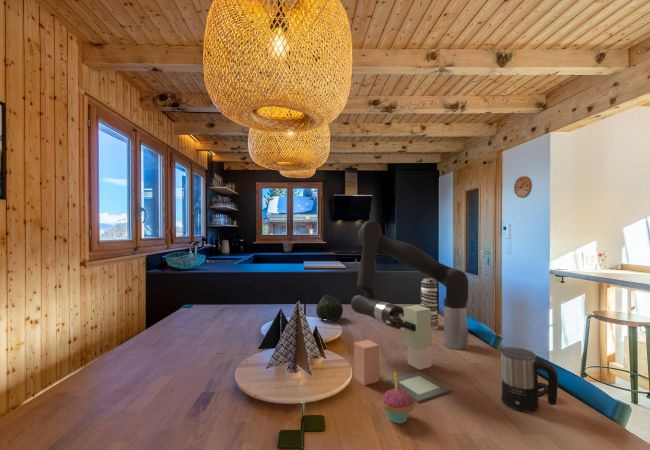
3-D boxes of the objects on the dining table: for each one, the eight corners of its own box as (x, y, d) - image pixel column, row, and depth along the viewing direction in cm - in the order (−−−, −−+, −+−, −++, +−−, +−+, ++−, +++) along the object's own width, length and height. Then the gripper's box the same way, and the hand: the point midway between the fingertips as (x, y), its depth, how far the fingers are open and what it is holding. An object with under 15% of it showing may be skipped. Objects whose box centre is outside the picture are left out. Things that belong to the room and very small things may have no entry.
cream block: (407, 363, 118) (407, 331, 118) (419, 360, 120) (419, 329, 121) (419, 369, 112) (418, 336, 112) (431, 366, 115) (431, 333, 115)
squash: (350, 311, 172) (339, 289, 181) (328, 317, 164) (317, 293, 172) (339, 324, 181) (329, 301, 189) (318, 330, 173) (308, 306, 181)
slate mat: (387, 382, 103) (387, 380, 103) (419, 373, 109) (419, 371, 110) (418, 402, 91) (418, 400, 91) (451, 391, 97) (451, 389, 97)
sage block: (403, 343, 102) (403, 306, 102) (417, 340, 105) (417, 304, 105) (417, 349, 96) (416, 311, 97) (431, 346, 99) (430, 308, 99)
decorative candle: (440, 325, 164) (440, 278, 164) (436, 330, 156) (435, 280, 157) (423, 323, 169) (422, 277, 169) (418, 327, 161) (417, 279, 161)
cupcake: (378, 410, 87) (377, 367, 87) (407, 408, 88) (407, 365, 88) (387, 429, 79) (386, 381, 79) (419, 427, 79) (418, 379, 80)
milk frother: (503, 409, 87) (502, 355, 88) (494, 383, 102) (493, 337, 102) (564, 419, 82) (563, 363, 83) (545, 390, 97) (544, 343, 97)
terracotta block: (354, 377, 107) (354, 342, 107) (368, 373, 109) (368, 339, 110) (364, 385, 101) (363, 348, 101) (379, 381, 104) (378, 345, 104)
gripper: (372, 305, 110) (405, 317, 95) (404, 301, 117) (439, 311, 102) (373, 327, 110) (405, 342, 95) (404, 321, 117) (439, 334, 102)
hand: (422, 326), depth 98 cm, fingers closed on sage block, 6 cm apart
